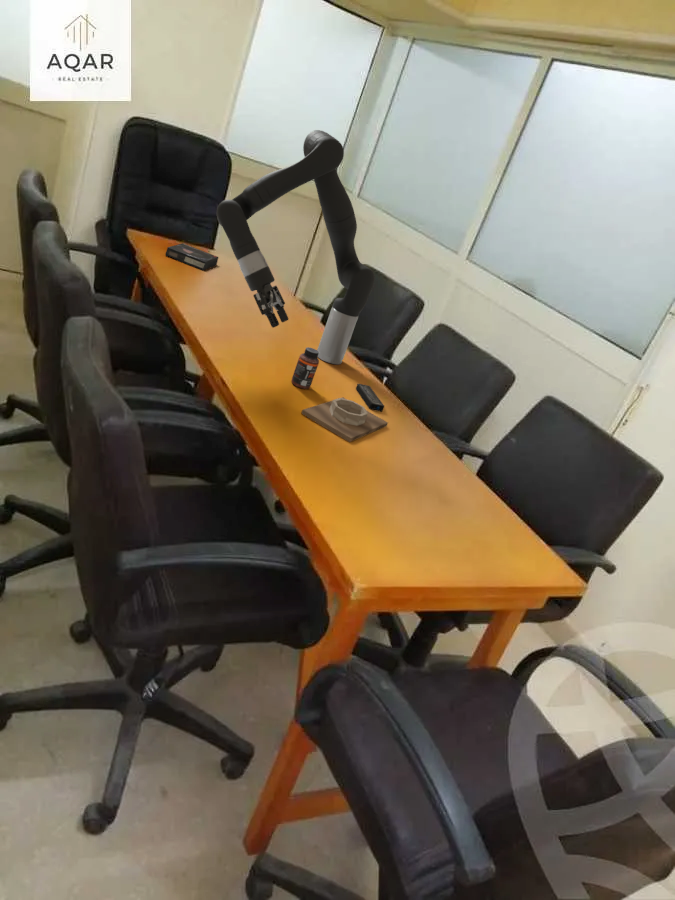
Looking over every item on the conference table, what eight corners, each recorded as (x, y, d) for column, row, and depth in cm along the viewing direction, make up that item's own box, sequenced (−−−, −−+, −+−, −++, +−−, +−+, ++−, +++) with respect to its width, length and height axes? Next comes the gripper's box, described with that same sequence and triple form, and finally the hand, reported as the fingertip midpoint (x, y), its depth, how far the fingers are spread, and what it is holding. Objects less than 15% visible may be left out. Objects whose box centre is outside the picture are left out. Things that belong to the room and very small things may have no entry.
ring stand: (341, 400, 202) (346, 388, 200) (386, 426, 196) (391, 413, 194) (301, 413, 183) (305, 399, 181) (349, 442, 177) (355, 428, 176)
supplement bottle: (307, 391, 199) (319, 356, 194) (288, 384, 199) (300, 348, 194) (312, 385, 204) (324, 351, 199) (293, 378, 204) (305, 343, 200)
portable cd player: (164, 257, 277) (166, 247, 276) (180, 252, 293) (182, 243, 291) (202, 271, 277) (204, 262, 275) (216, 266, 293) (218, 257, 291)
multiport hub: (367, 392, 217) (369, 385, 216) (382, 413, 205) (384, 406, 204) (354, 389, 215) (357, 383, 214) (369, 410, 203) (371, 403, 202)
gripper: (258, 267, 185) (284, 323, 189) (275, 262, 198) (299, 314, 202) (235, 279, 188) (261, 333, 191) (253, 273, 201) (277, 324, 204)
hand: (280, 323), depth 196 cm, fingers open, 8 cm apart
